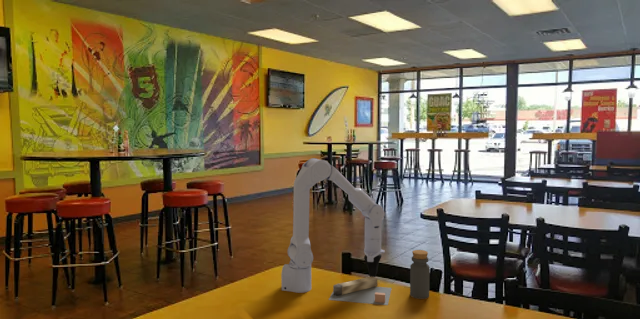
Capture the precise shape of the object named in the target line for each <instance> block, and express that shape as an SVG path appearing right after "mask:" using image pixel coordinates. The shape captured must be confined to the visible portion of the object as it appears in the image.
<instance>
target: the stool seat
mask: <svg viewBox="0 0 640 319" xmlns="http://www.w3.org/2000/svg"><path fill="white" fill-rule="evenodd" d="M375 292H378V293H385V303H381V302H375ZM391 292H392V287H384V286H375V287H371V288H367V289H363V290H359V291H355V292H351V293H347V294H343V295H334V294H333V292H331V294H330V296H329V298H328V301H337V302H338V301H339V302H348V303H356V304H357V303H359V304H368V305H369V304H370V305H381V306H388V305H389V301H390V297H391V294H392V293H391Z"/></svg>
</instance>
